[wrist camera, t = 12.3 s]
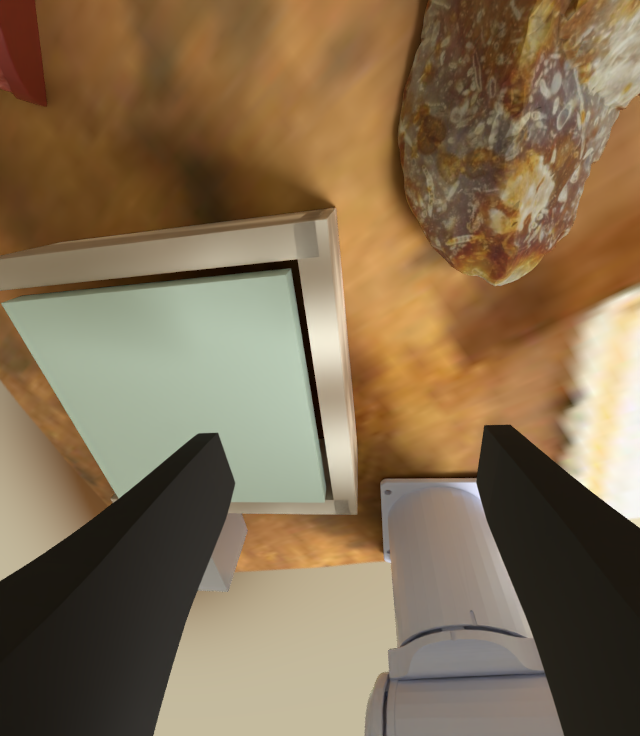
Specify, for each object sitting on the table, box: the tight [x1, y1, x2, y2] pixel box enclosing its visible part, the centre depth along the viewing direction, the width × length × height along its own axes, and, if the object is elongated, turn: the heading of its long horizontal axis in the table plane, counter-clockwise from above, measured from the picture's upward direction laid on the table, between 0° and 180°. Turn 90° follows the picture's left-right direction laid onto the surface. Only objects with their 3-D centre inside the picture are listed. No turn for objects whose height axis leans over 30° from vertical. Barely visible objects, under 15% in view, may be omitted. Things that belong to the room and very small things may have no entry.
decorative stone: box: [398, 0, 640, 286], centre depth 11 cm, size 10×4×15 cm
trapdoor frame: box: [0, 207, 358, 515], centre depth 18 cm, size 15×15×5 cm
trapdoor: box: [1, 268, 326, 503], centre depth 16 cm, size 12×12×1 cm
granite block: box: [198, 513, 248, 592], centre depth 26 cm, size 5×5×5 cm
